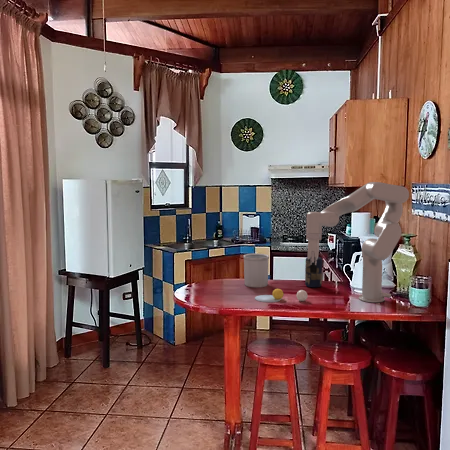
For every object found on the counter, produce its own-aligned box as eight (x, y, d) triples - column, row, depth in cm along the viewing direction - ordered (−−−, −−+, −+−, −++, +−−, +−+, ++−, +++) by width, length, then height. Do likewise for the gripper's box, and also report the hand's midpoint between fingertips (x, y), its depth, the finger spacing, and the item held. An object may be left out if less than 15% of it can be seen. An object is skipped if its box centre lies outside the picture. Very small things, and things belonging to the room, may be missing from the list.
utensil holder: (267, 288, 258) (267, 258, 256) (241, 287, 261) (241, 257, 259) (270, 282, 272) (270, 253, 270) (245, 281, 275) (245, 253, 273)
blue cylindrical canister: (301, 285, 264) (302, 255, 262) (315, 283, 268) (315, 253, 266) (311, 289, 255) (312, 257, 254) (325, 287, 259) (325, 256, 257)
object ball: (277, 285, 236) (271, 293, 237) (276, 287, 231) (269, 295, 232) (286, 292, 235) (279, 300, 237) (284, 295, 230) (277, 302, 231)
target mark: (283, 296, 240) (283, 295, 240) (279, 303, 227) (279, 302, 227) (257, 294, 244) (257, 294, 244) (252, 301, 230) (252, 300, 230)
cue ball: (299, 287, 233) (295, 297, 234) (297, 289, 228) (294, 299, 229) (309, 291, 232) (305, 301, 233) (308, 293, 227) (304, 304, 228)
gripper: (307, 234, 234) (307, 269, 236) (305, 238, 220) (304, 275, 222) (322, 234, 232) (321, 269, 234) (320, 238, 218) (320, 276, 220)
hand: (313, 272), depth 228 cm, fingers closed
